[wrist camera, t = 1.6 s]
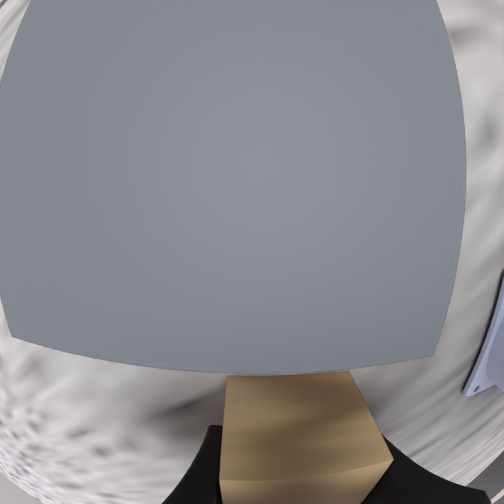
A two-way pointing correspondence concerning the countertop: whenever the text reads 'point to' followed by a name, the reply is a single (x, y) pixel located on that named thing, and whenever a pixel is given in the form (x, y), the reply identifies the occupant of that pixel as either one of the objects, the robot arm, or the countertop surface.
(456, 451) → the countertop surface
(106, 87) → the base block
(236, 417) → the tan cube
